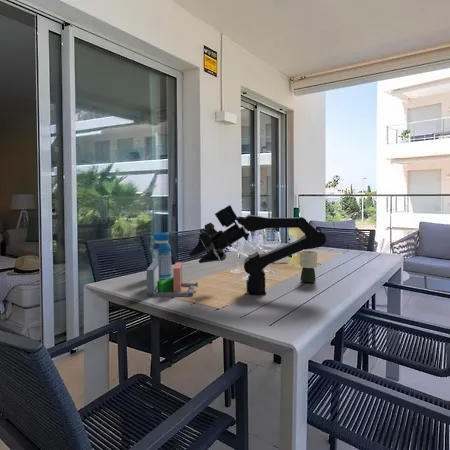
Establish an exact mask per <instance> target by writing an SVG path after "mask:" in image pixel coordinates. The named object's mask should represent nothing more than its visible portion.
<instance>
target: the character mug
mask: <svg viewBox="0 0 450 450" xmlns="http://www.w3.org/2000/svg"><path fill="white" fill-rule="evenodd" d="M299 259H300V260H299V266H300V267H301V268H302V269H301V274H300V281H301V282H305V283H306V282H307V283H315V282H316V281H317V280H316V271H315V270H316V269H315V268H317V266H318V252H317V251H315V250H302V251H299Z"/></svg>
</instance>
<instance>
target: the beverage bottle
mask: <svg viewBox="0 0 450 450" xmlns="http://www.w3.org/2000/svg"><path fill="white" fill-rule="evenodd" d="M153 241H154V244H153V245H152V253H151V256H152V262H159V280H163V278H169V279H170V278H172V252H171V250H172V245H171V244H170V242H169V241H170V233H169V232H154V233H153Z"/></svg>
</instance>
